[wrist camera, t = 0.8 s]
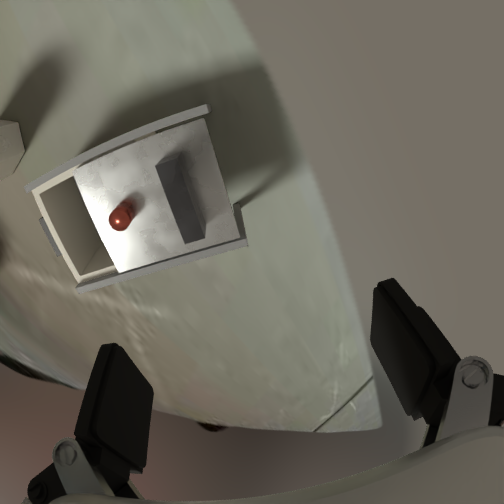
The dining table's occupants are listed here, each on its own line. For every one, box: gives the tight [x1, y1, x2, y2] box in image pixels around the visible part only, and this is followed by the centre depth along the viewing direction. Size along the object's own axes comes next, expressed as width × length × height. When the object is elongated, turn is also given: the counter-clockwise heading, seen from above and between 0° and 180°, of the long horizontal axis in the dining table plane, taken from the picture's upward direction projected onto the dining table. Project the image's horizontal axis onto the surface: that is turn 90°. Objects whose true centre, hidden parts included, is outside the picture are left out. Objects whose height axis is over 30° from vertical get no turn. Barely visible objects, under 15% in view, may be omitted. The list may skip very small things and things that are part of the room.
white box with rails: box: [24, 104, 248, 294], centre depth 29 cm, size 14×22×10 cm, turn 104°
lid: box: [72, 118, 240, 273], centre depth 24 cm, size 11×13×4 cm
